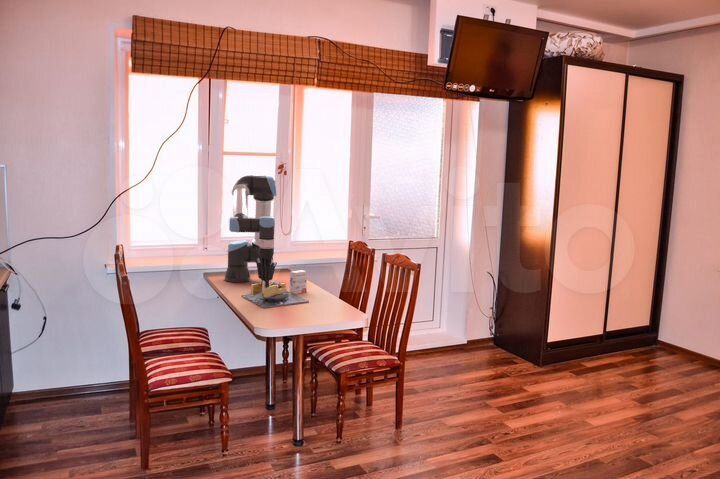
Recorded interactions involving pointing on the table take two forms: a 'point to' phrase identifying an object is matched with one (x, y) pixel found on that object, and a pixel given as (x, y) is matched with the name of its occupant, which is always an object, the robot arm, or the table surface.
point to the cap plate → (274, 303)
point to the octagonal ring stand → (268, 289)
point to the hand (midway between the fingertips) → (265, 293)
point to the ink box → (298, 281)
